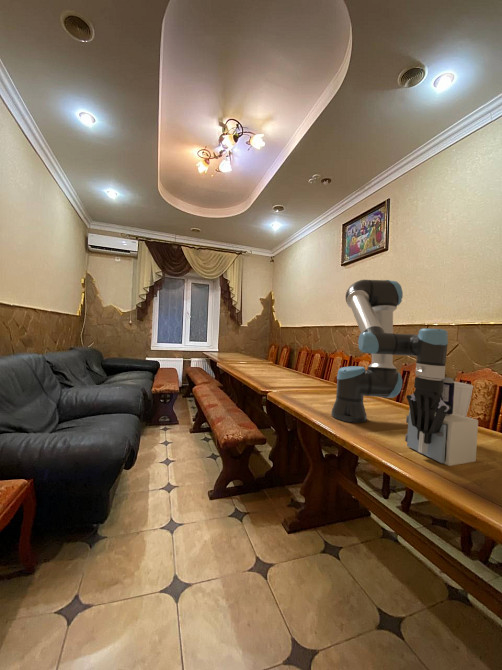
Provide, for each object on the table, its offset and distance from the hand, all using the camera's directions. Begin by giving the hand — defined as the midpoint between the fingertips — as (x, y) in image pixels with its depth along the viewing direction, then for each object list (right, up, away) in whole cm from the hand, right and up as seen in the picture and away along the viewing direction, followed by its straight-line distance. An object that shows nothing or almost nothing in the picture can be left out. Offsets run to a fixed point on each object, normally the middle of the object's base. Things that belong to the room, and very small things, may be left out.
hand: (422, 452), depth 81 cm
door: (+1, -1, +2) cm, 3 cm away
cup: (+21, -3, +16) cm, 27 cm away
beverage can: (+9, +11, +4) cm, 14 cm away
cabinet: (+8, -2, +4) cm, 10 cm away
